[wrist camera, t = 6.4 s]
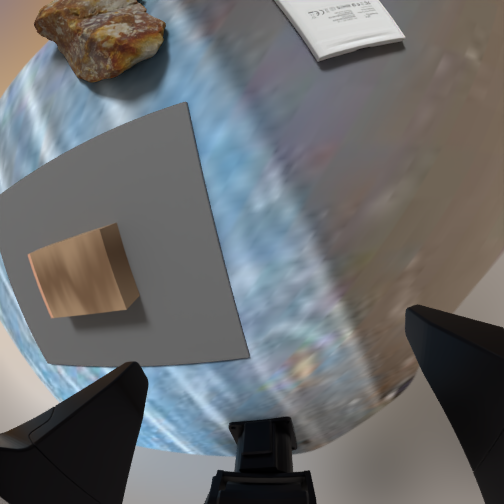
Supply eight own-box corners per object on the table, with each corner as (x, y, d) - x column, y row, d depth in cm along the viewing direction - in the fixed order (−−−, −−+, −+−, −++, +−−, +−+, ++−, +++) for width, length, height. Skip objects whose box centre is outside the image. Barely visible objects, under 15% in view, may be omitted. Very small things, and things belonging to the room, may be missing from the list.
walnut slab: (126, 309, 18) (51, 318, 19) (140, 295, 20) (66, 306, 21) (99, 229, 17) (27, 254, 17) (116, 222, 19) (44, 246, 20)
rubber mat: (249, 354, 22) (249, 357, 22) (49, 361, 25) (47, 363, 24) (187, 102, 17) (185, 101, 16) (-9, 202, 19) (-11, 203, 19)
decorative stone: (82, -44, 8) (198, -2, 12) (99, -25, 12) (204, 24, 16) (11, 37, 10) (100, 102, 14) (36, 46, 14) (124, 110, 18)
